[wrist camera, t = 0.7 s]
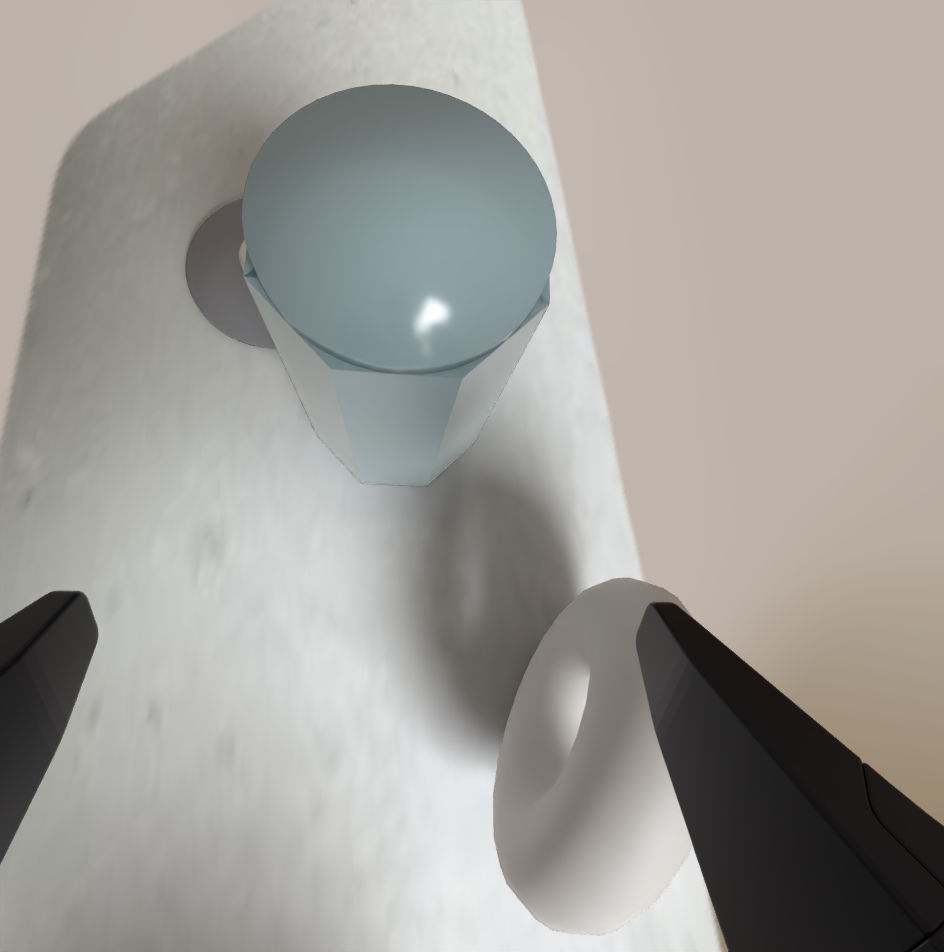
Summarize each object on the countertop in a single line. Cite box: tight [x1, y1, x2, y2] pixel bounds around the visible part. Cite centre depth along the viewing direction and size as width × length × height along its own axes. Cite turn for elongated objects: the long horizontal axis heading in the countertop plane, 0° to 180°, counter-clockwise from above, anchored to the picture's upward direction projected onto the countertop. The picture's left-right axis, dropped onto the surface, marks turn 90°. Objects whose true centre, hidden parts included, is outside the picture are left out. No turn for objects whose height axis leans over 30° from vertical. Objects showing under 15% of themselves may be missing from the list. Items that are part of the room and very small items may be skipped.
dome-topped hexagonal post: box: [242, 84, 557, 486], centre depth 18 cm, size 6×6×13 cm
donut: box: [493, 578, 693, 936], centre depth 18 cm, size 10×4×10 cm, turn 157°
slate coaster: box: [186, 199, 276, 348], centre depth 24 cm, size 7×7×1 cm
